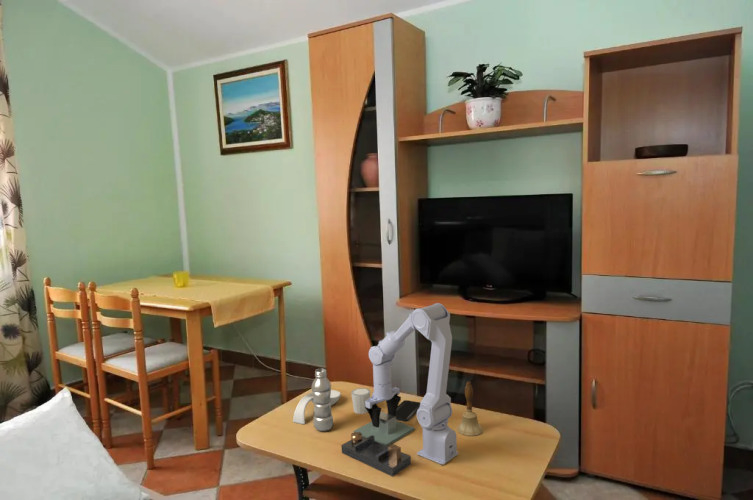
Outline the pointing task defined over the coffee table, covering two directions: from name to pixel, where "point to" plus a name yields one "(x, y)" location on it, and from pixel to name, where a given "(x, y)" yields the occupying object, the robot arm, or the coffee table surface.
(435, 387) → the robot arm
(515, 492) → the coffee table surface
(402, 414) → the phone
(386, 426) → the rectangular metal block
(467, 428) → the hand bell
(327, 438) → the coffee table surface
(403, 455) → the hand plane
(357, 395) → the grey and white cylinder
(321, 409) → the silver metal bottle
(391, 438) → the rubber mat
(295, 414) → the spoon rest
